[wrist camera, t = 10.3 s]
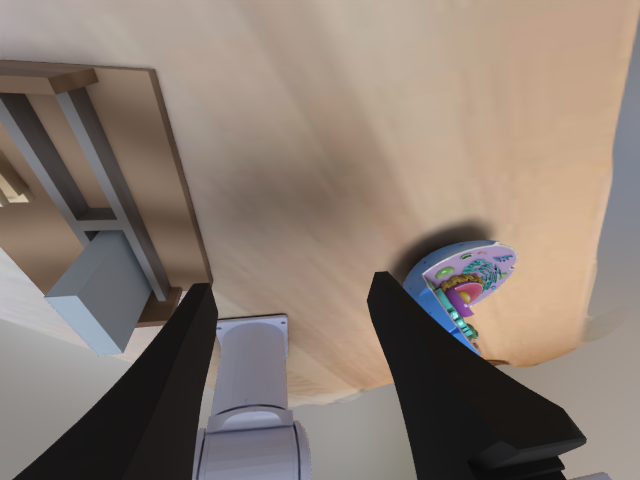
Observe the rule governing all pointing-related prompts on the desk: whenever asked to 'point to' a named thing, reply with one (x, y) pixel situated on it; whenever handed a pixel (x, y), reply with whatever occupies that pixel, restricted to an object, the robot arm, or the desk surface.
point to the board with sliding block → (97, 176)
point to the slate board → (102, 293)
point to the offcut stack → (11, 184)
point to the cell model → (459, 283)
